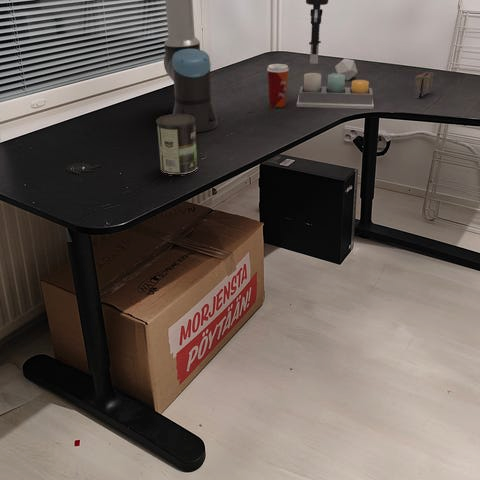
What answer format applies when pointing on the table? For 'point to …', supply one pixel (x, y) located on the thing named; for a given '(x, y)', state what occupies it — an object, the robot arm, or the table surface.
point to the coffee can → (177, 143)
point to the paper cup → (277, 84)
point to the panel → (335, 99)
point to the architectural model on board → (422, 83)
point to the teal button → (336, 83)
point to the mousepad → (81, 168)
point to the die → (346, 68)
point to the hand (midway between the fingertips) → (313, 62)
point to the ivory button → (312, 82)
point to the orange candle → (360, 86)
